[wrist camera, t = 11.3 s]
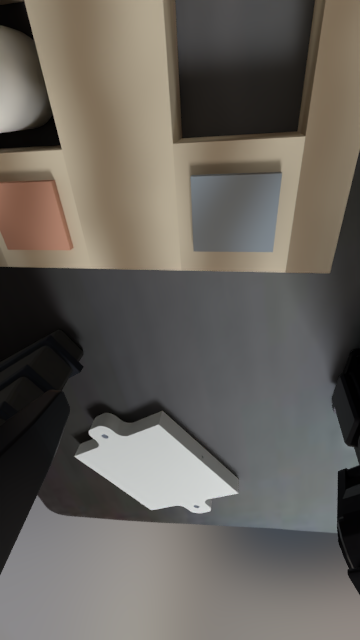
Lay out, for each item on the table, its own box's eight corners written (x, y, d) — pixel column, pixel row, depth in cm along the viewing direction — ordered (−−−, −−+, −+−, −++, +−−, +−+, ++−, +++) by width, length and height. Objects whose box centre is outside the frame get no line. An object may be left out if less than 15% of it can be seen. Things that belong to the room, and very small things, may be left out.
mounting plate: (251, 486, 35) (251, 504, 33) (167, 503, 41) (164, 519, 40) (145, 391, 28) (140, 408, 27) (65, 428, 35) (56, 444, 33)
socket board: (408, -160, 10) (459, -241, 7) (320, 253, 18) (331, 277, 15) (-123, -50, 13) (-199, -80, 11) (3, 250, 22) (-27, 269, 19)
